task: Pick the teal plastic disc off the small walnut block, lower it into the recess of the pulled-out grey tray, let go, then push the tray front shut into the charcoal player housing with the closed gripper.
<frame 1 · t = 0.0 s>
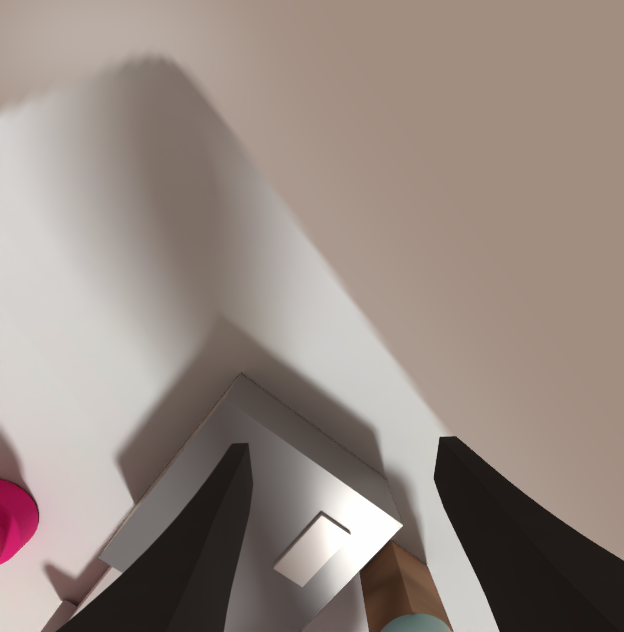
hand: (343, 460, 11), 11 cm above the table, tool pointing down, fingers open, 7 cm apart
pepper mill: (2, 510, 24), on the table
walnut block: (393, 569, 25), on the table
tray: (163, 619, 23), point 2 cm above the table, slide at 10.5 cm
player housing: (260, 492, 23), on the table
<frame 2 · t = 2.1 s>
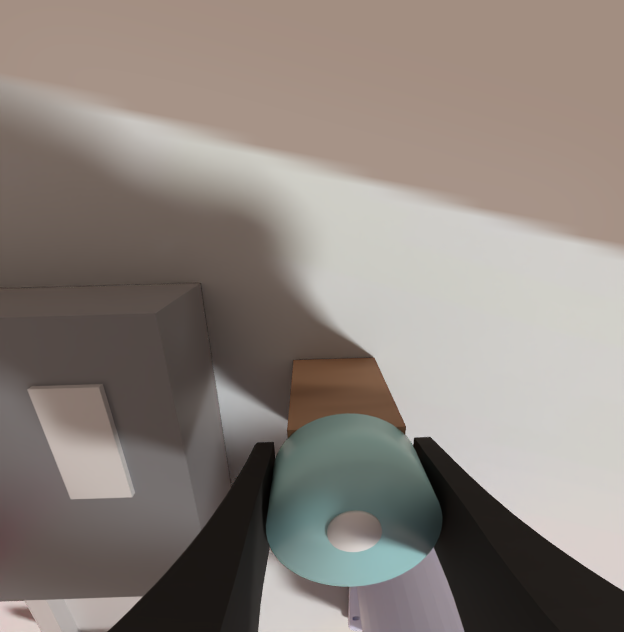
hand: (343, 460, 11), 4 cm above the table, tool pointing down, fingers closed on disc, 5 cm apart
disc: (345, 473, 11), point 5 cm above the table, touching gripper, walnut block
walnut block: (333, 393, 15), on the table
tray: (119, 603, 18), point 2 cm above the table, slide at 10.5 cm
player housing: (86, 417, 16), on the table
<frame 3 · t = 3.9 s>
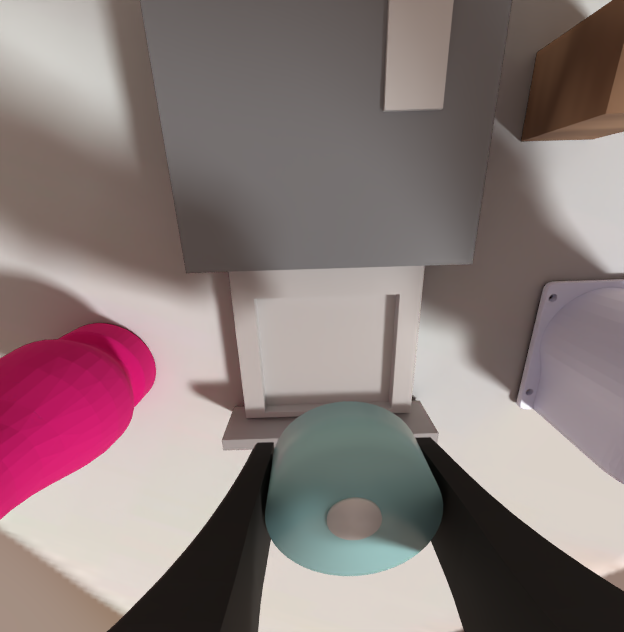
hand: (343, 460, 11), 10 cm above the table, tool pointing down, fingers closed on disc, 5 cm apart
disc: (345, 463, 11), point 10 cm above the table, touching gripper
pepper mill: (113, 362, 21), on the table
walnut block: (565, 97, 16), on the table
tray: (327, 341, 18), point 2 cm above the table, slide at 10.5 cm
player housing: (323, 126, 16), on the table
when the fingers open (2 cm above the table, at t = 6.0 s): disc drops 2 cm, resting on tray.
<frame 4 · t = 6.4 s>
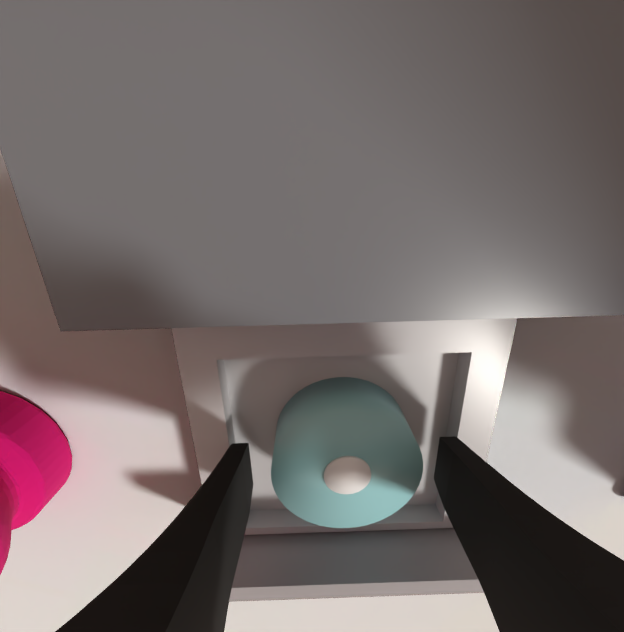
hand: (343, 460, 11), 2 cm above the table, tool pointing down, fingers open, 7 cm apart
disc: (340, 433, 12), point 1 cm above the table, touching tray
pepper mill: (5, 442, 13), on the table
tray: (344, 427, 11), point 2 cm above the table, slide at 10.5 cm, touching disc
player housing: (341, 47, 9), on the table
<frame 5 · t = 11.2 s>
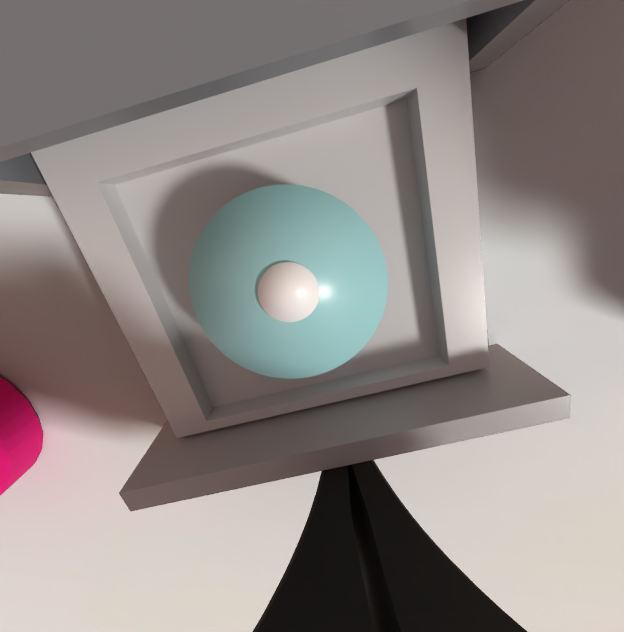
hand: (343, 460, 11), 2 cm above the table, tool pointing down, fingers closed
disc: (292, 276, 10), point 1 cm above the table, touching tray
tray: (281, 246, 9), point 2 cm above the table, slide at 8.8 cm, touching disc, gripper
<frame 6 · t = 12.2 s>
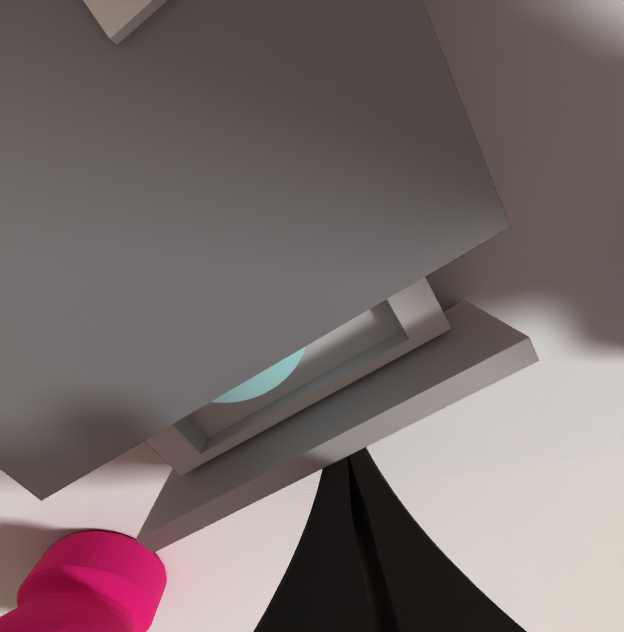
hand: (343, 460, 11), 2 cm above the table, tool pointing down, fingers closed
disc: (231, 300, 10), point 1 cm above the table, touching tray
pepper mill: (110, 566, 16), on the table
tray: (201, 277, 9), point 2 cm above the table, slide at 2.9 cm, touching disc, gripper
player housing: (131, 147, 9), on the table
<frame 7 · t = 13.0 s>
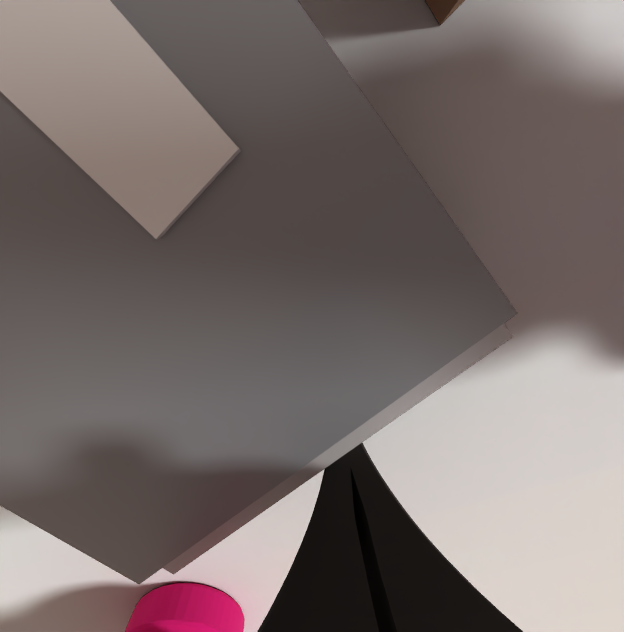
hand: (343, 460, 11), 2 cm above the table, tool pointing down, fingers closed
pepper mill: (192, 611, 17), on the table
tray: (171, 306, 9), point 2 cm above the table, slide at -0.1 cm, touching disc, gripper
player housing: (162, 261, 10), on the table
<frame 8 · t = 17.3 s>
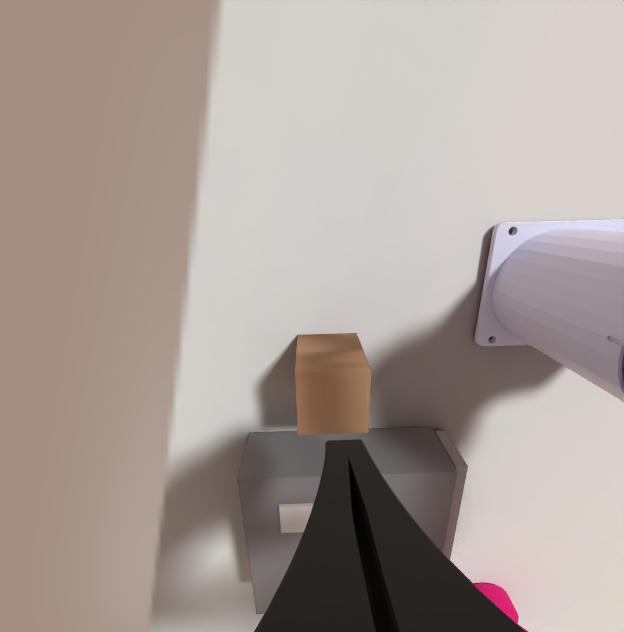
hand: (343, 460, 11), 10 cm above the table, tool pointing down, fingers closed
pepper mill: (475, 599, 31), on the table
walnut block: (327, 360, 21), on the table
tray: (360, 518, 23), point 2 cm above the table, slide at 0.0 cm, touching disc
player housing: (340, 497, 25), on the table
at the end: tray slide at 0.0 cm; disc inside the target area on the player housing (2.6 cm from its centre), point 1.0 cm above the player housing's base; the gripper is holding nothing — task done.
